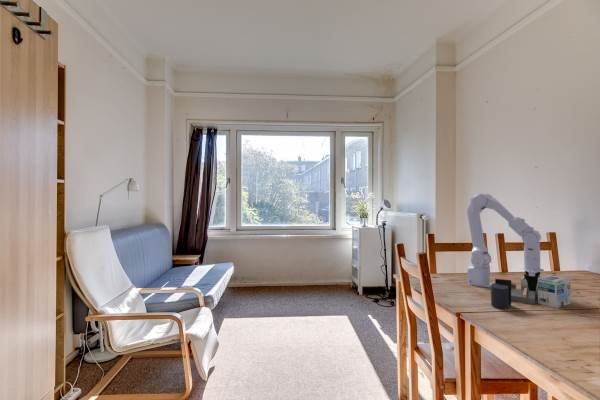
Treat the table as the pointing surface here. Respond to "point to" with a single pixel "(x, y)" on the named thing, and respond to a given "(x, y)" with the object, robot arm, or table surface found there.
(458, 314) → the table surface
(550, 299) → the light bulb box
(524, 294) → the stand
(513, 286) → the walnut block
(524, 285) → the block
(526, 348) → the table surface
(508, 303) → the speaker
